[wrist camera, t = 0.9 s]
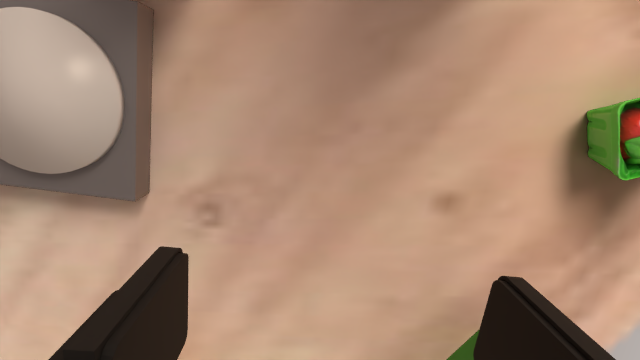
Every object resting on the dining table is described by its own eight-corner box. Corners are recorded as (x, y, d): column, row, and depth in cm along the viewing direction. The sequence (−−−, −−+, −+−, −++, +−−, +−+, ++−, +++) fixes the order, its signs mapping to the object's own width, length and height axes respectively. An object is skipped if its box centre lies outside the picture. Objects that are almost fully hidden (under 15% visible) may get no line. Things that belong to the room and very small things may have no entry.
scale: (-30, -20, 30) (-91, -40, 26) (157, 12, 32) (131, -2, 27) (-11, 169, 35) (-60, 181, 30) (152, 190, 36) (130, 204, 32)
